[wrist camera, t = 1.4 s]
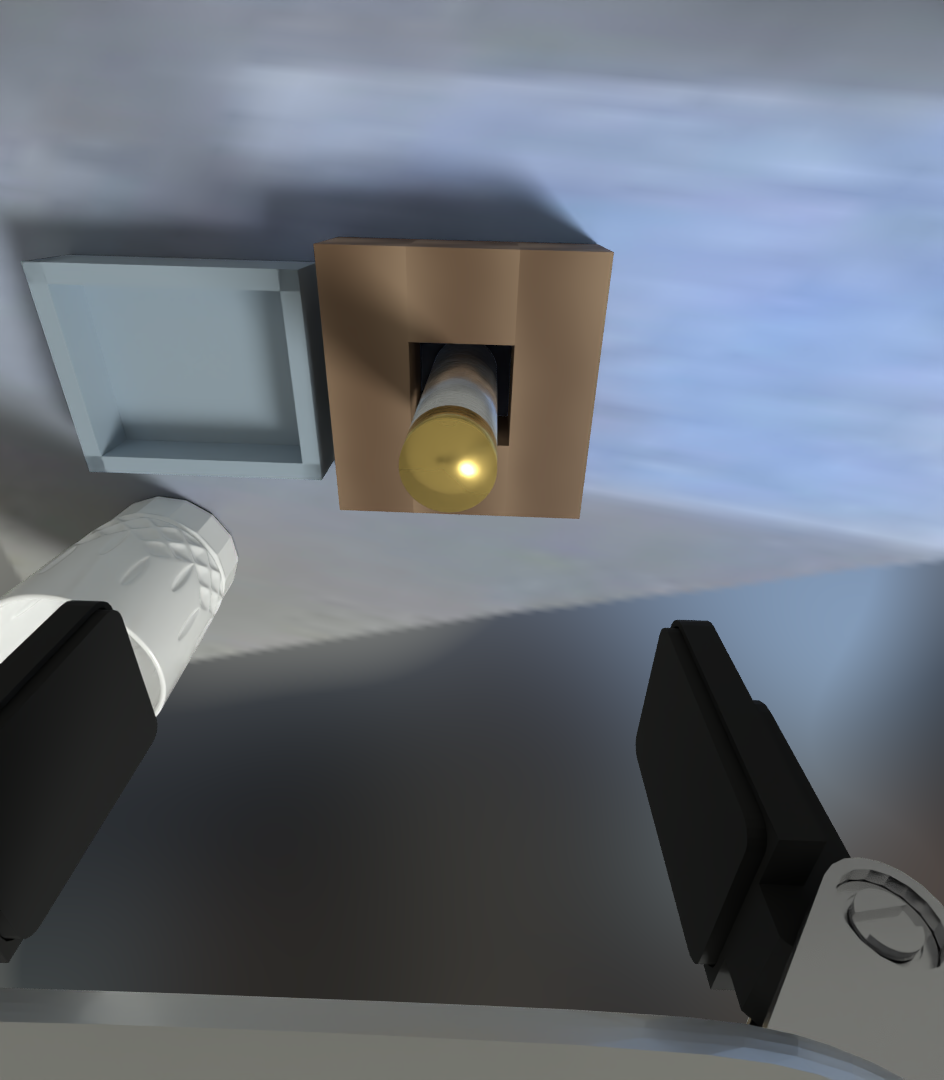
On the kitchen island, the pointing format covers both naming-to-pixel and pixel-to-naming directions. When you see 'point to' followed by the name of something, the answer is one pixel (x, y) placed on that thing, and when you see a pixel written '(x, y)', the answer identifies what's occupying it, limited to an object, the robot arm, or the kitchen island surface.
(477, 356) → the pin
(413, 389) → the socket block
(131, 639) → the white cup
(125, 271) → the tray
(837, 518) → the kitchen island surface
